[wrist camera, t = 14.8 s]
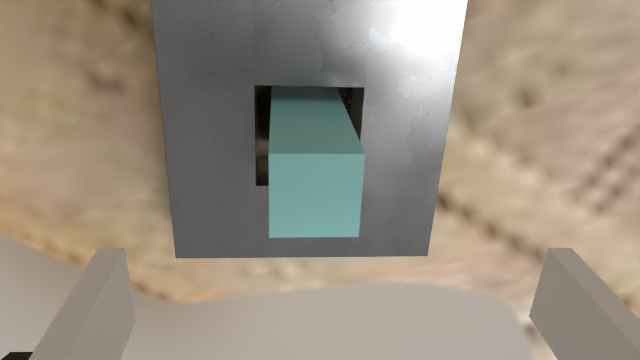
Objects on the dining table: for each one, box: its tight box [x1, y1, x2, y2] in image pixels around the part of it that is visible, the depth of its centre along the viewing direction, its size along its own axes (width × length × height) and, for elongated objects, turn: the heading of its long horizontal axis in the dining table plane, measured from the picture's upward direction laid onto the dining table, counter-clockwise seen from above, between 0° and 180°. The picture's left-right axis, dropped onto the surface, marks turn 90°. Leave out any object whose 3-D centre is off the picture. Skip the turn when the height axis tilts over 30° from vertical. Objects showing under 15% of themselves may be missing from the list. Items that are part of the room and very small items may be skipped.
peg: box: [269, 85, 365, 238], centre depth 26 cm, size 4×4×12 cm
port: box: [151, 0, 467, 258], centre depth 30 cm, size 16×16×4 cm
